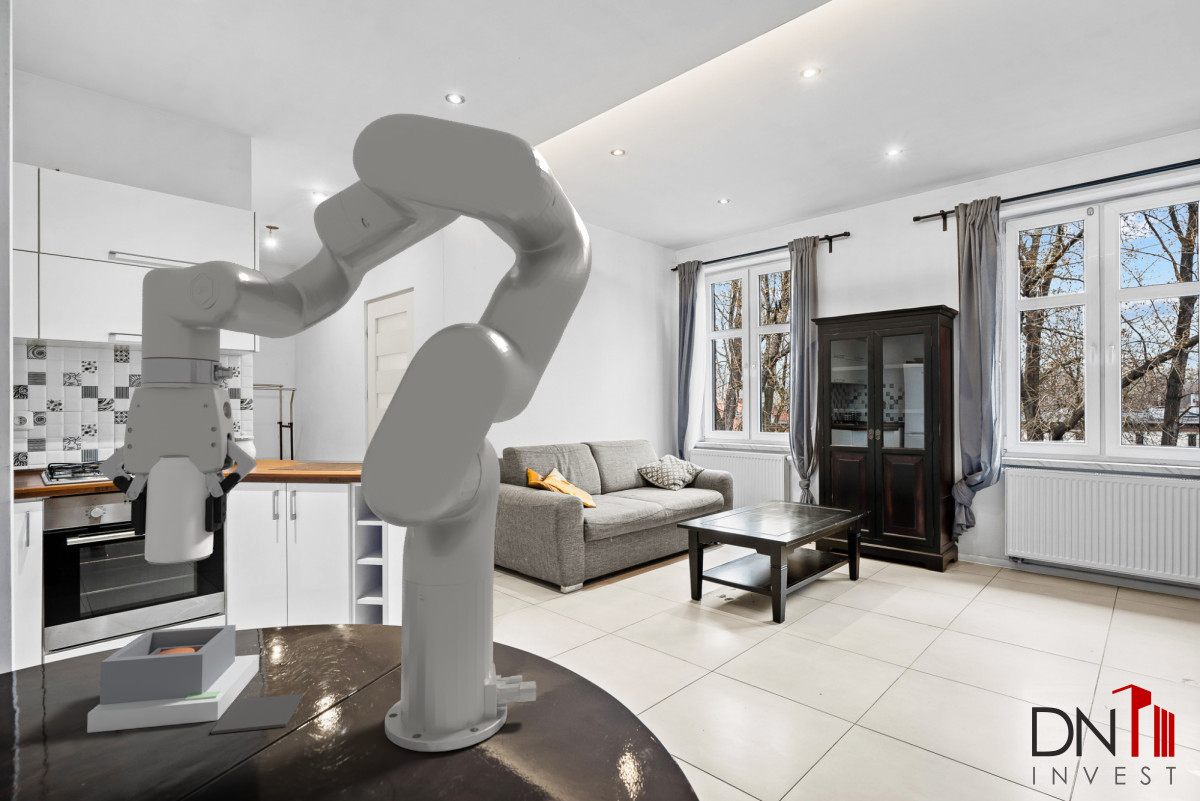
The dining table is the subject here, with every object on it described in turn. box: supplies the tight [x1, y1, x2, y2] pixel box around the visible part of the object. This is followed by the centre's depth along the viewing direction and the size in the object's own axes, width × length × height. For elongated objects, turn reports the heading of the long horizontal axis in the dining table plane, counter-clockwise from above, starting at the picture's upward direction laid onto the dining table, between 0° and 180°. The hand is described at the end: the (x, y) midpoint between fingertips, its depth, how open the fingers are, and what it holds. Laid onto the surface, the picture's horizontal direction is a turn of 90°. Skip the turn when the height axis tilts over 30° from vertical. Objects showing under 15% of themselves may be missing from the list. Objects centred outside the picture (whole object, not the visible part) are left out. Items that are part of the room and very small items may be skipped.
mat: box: [210, 693, 304, 735], centre depth 66 cm, size 7×7×1 cm
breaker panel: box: [86, 624, 260, 734], centre depth 69 cm, size 12×13×6 cm
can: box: [144, 456, 214, 565], centre depth 70 cm, size 6×6×12 cm
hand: (179, 530), depth 70 cm, fingers closed on can, 6 cm apart
